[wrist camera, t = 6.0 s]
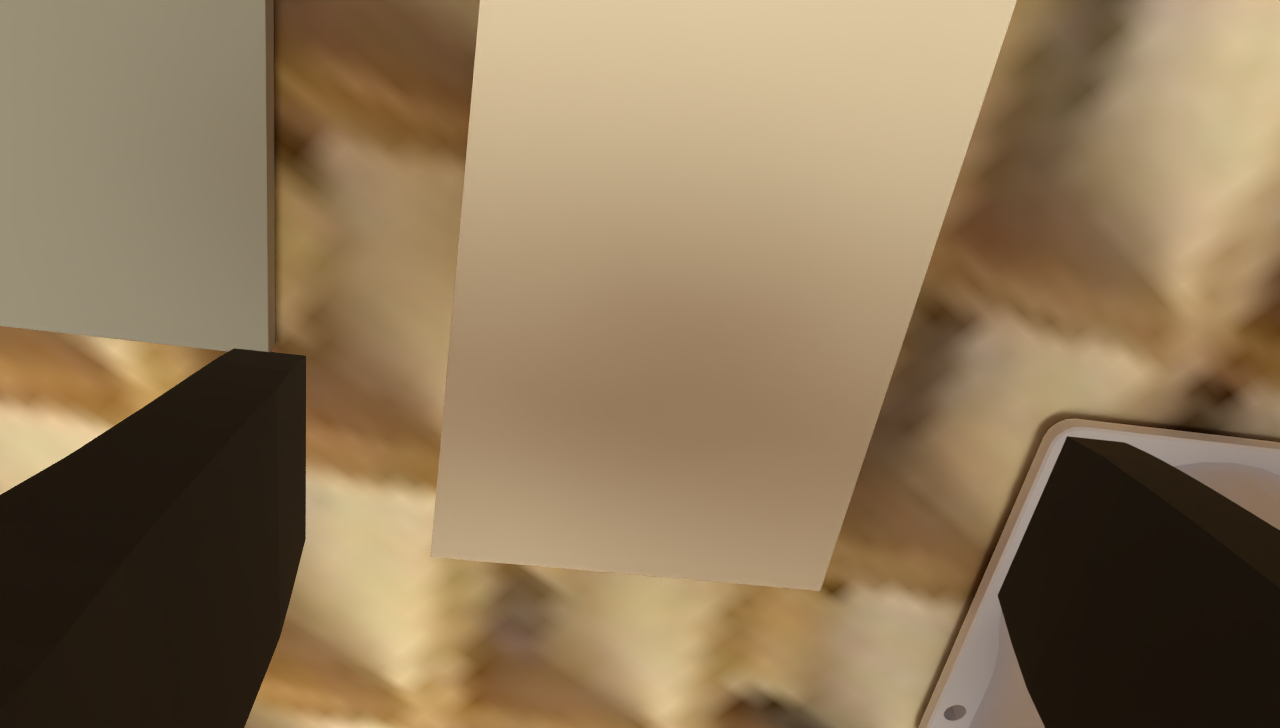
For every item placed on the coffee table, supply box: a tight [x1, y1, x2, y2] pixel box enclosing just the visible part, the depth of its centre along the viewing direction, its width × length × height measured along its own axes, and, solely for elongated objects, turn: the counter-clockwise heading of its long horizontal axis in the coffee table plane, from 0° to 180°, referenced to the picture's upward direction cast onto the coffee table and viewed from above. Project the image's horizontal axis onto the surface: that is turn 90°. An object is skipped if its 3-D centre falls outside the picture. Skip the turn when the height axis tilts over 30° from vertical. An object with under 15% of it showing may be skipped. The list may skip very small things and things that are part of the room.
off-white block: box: [431, 0, 1017, 591], centre depth 13 cm, size 10×5×7 cm, turn 170°
